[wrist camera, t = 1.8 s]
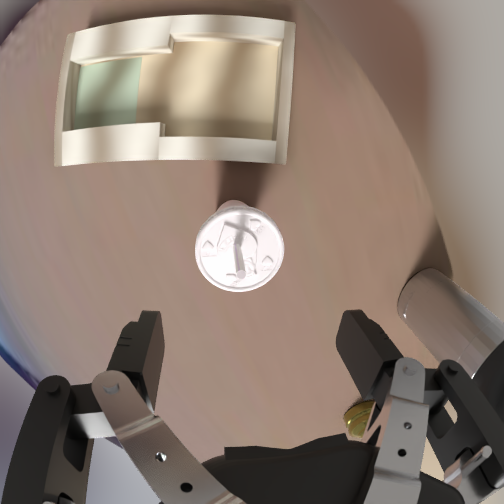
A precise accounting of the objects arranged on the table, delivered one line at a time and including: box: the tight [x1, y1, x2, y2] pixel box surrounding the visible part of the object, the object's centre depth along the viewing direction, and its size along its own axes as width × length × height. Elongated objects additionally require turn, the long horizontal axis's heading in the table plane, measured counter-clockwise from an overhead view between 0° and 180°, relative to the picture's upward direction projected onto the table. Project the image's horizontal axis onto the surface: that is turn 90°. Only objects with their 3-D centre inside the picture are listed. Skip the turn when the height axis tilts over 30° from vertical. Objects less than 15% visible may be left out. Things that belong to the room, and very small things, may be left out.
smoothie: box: [195, 200, 284, 292], centre depth 22 cm, size 6×6×14 cm
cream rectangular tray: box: [54, 15, 296, 167], centre depth 21 cm, size 22×14×4 cm, turn 86°
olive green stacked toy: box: [343, 401, 375, 439], centre depth 41 cm, size 7×7×10 cm
